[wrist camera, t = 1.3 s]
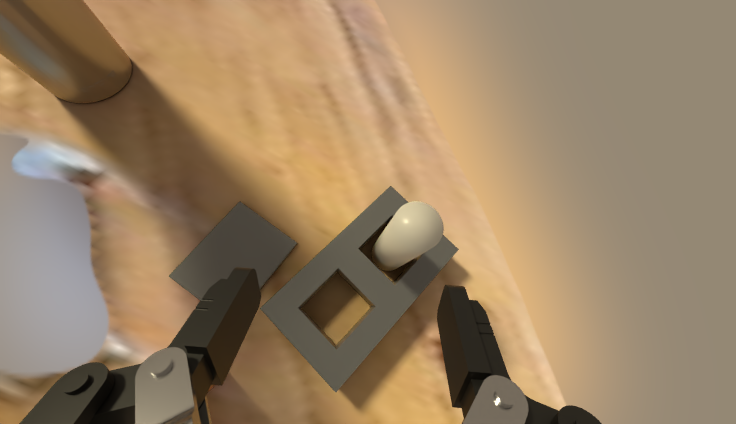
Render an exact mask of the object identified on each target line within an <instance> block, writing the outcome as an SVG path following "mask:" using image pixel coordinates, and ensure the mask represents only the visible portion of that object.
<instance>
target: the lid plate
mask: <svg viewBox="0 0 736 424" xmlns="http://www.w3.org/2000/svg"><path fill="white" fill-rule="evenodd" d="M296 245H297V242H295V241H294V240H292V239H291V238H290V237H288V236H287V235H286V234H284V233H283V232H281V231H280V230H279V229H277V228H276V227H275V226H273V225H272V224H270V223H269V222H268V221H266V220H265V219H263V218H262V217H261V216H259V215H258V214H257V213H255V212H254V211H252V210H251V209H250V208H248V207H247V206H245V205H244V204H243V203H241V202H239V203H238V204H237V205H236V206H235V207H234V208H233V209H232V210H231V211H230V212H229V213H228V214H227V215H226V216H225V217H224V218H223V219H222V221H221V222H220V223H219V224H218V225H217V226H216V227H215V228H214V229H213V230H212V231H211V232H210V233H209V234H208V235H207V236H206V237H205V238H204V239H203V241H202V242H201V243H200V244H199V245H198V246H197V247H196V248H195V249H194V250H193V251H192V252H191V253H190V254H189V255H188V256H187V257H186V258H185V259H184V261H183V262H182V263H181V264H180V265H179V266H178V267H177V268H176V269H175V270H174V271H173V272H172V273H171V274H170V275H169V277H170V278H172V279H173V280H174V281H176V282H177V283H178V284H180V285H181V286H182V287H183V288H185V289H186V290H187V291H189V292H190V293H191V294H192V295H194V296H195V297H196V298H198V299H199V300H200V301H202V298H203V296H204V295H205V294H206V292H207V291H208V289H209V288H210V287H211V286H212V285H214V284H215V283H216V282H217V281H219V280H220V279H227V278H228V277H229V275H230V274H231V272H232V271H233V269H234V268H236V267H241V268H253V269H255V270H256V273H257V278H258V283H259V287H260V289H261V288H262V287H263V286H264V285H265V283H266V282H267V281H268V280H269V278H270V277H271V276H272V275H273V273H274V272H275V271H276V270H277V268H278V267H279V266H280V265H281V263H282V262H283V261H284V260H285V258H286V257H287V256H288V255H289V253H290V252H291V251H292V250H293V249H294V247H295V246H296Z"/></svg>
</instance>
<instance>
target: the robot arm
mask: <svg viewBox="0 0 736 424" xmlns="http://www.w3.org/2000/svg"><path fill="white" fill-rule="evenodd" d="M0 54H2V55H3V56H4V57H6V58H7V59H8V60H10V61H11V62H12V63H13V64H15V65H16V66H17V67H18V68H20V69H21V70H22V71H24V72H25V73H26V74H28V75H29V76H30V77H31V78H33V79H34V80H35V81H37V82H38V83H39V84H41V85H42V86H43V87H45V88H46V89H47V90H48V91H50V92H51V93H52V94H54V95H55V96H57V97H58V98H60V99H63V100H65V101H68V102H73V103H91V102H96V101H100V100H104V99H106V98H108V97H110V96H112V95H114V94H115V93H117V92H118V91H120V90H121V89H122V88H123V87H124V86H125V85H126V83H127V82H128V80H129V79H130V76H131V73H132V65H131V61H130V59H129V57H128V55H127V54H126V53H125V52H124V50H123V49H122V48H121V47H120V46H119V44H118V43H117V42H116V41H115V39H114V38H113V37H112V36H111V34H110V33H109V32H108V31H107V29H106V28H105V27H104V26H103V24H102V23H101V22H100V21H99V19H98V18H97V17H96V16H95V14H94V13H93V12H92V11H91V9H90V8H89V7H88V6H87V5H86V3H85V2H84V1H83V0H0ZM260 299H261V292H260V287H259V283H258V278H257V273H256V270H255V269H253V268H241V267H236V268H234V269H233V271H232V272H231V274H230V275H229V277H228V278H227V279H220V280H219V281H217V282H216V283H215V284H214V285H212V286H211V287H210V288H209V289H208V291H207V292H206V294H205V295H204V296H203V298H202V301H200V302H199V304H198V305H197V307H196V309H195V310H194V311H193V312H192V314H191V315H190V317H189V318H188V319H187V321H186V322H185V324H184V325H183V327H182V328H181V330H180V331H179V332H178V334H177V335H176V337H175V338H174V340H173V341H172V342H171V344H170V345H169V346H168V347H167V348H165V349H162V350H160V351H158V352H156V353H154V354H152V355H151V356H150V357H148V358H147V359H146V360H145V361H144V362H143V363H142V364H138V365H134V366H129V367H125V368H120V369H116V370H111V371H109V370H108V368H107V367H106V366H105V365H104V364H102V363H97V362H95V363H88V364H85V365H82V366H79V367H77V368H75V369H73V370H71V371H70V372H68V373H67V374H65V375H64V376H63V377H61V378H60V379H59V380H58V381H57V382H56V383H55V384H54V385H53V386H52V387H51V389H50V390H49V391H48V392H47V393H46V394H45V395H44V396H43V398H42V399H41V400H40V401H39V402H38V403H37V404H36V406H35V407H34V408H33V409H32V410H31V411H30V412H29V413H28V415H27V416H26V417H25V418H24V419H23V420H22V421H21V423H20V424H212V422H211V417H210V412H209V407H208V401H207V397H206V394H207V392H208V390H209V388H210V386H211V385H223V383H224V380H225V378H226V376H227V374H228V372H229V370H230V368H231V365H232V363H233V361H234V359H235V357H236V355H237V353H238V350H239V348H240V346H241V344H242V342H243V340H244V338H245V335H246V333H247V331H248V329H249V327H250V325H251V322H252V320H253V318H254V316H255V314H256V312H257V310H258V307H259V304H260ZM437 321H438V328H439V334H440V339H441V345H442V351H443V356H444V362H445V368H446V373H447V379H448V385H449V390H450V396H451V402H452V407H456V408H462V411H463V416H464V420H463V422H462V424H601V423H600V422H599V420H597V419H596V418H595V417H594V416H593V415H592V414H590V413H589V412H587V411H586V410H584V409H582V408H579V407H576V406H565V407H563V408H562V409H560V411H558V410H556V409H553V408H551V407H548V406H546V405H544V404H541V403H539V402H536V401H534V400H532V399H530V398H529V397H527V396H526V395H524V393H523V392H522V390H521V389H520V388H519V387H518V386H517V385H516V384H515V383H514V382H512V381H511V379H510V377H509V375H508V372H507V370H506V367H505V364H504V361H503V358H502V356H501V353H500V350H499V347H498V344H497V342H496V339H495V336H494V335H493V334H494V333H493V330H492V328H491V326H490V322H489V319H488V316H487V314H486V311H485V310H484V309H483V307H482V306H481V305H480V304H479V303H478V301H475V300H469V298H468V295H467V292H466V289H465V287H464V286H452V285H445V287H444V290H443V293H442V297H441V300H440V304H439V307H438V313H437Z"/></svg>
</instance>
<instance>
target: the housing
mask: <svg viewBox="0 0 736 424" xmlns="http://www.w3.org/2000/svg"><path fill="white" fill-rule="evenodd" d="M386 223H388V225H387V227H386V228H385V229H384V231H383V232H382V234H381V235H380V237H379V238H378V239H377V241H376V242H375V244H374V245H373V247H372V251H371V255H372V259H373V262H374V263H375V265H376V266H377V267H379V268H380V269H382V270H386V271H392V270H395V269H397V268H399V267H400V266H402V265H404V264H406V263H407V262H409V261H411V260H412V259H414V258H415V259H414V261H413V262H412V263H411V264H410V265H409V266H408V267H407V268H406V269H405V270H404V272H403V273H402V274H401V275H400V276H399V277H398V278H397V279H396V280H395V281H394V283H392V282H391V281H390V280H389V279H388V278H387V277H386V276H385V275H384V274H383V273H382V272H381V271H380V270H379V269H378V268H377V267H376V266H375V265H374V264H373V263H372V262H371V261H370V260H369V259H368V258H367V257H366V256H365V255H364V254H363V253H362V252H361V251H360V249H361V248H362V247H363V246H364V245H365V244H366V243H367V242H368V241H369V240H370V239H371V238H372V237H373V236H374V235H375V234H376V233H377V232H378V231H379V230H380V229H381V228H382V227H383V226H384V225H385V224H386ZM458 250H459V249H458V248H457V247H455V246H454V245H453V244H452V243H451V242H450V241H449V240H448V239H447V238H446V237H445V236H444V235H443V222H442V219H441V217H440V215H439V213H438V212H437V211H436V210H435V209H434V208H433V207H432V206H430V205H429V204H426V203H424V202H419V201H413V202H407V201H406V200H405V199H404V198H403V197H402V196H401V195H400V194H399V193H398V192H397V191H396V190H395V189H394V188H392V187H391V186H390V187H389V188H388V189H387V190H386V191H385V192H384V193H383V194H382V195H380V196H379V197H378V198H377V199H376V200H375V201H374V202H373V203H372V204H371V205H370V206H369V207H368V208H367V209H366V210H364V211H363V212H362V213H361V214H360V215H359V216H358V217H357V218H356V219H355V220H354V221H353V222H352V223H351V224H350V225H348V226H347V227H346V228H345V229H344V230H343V231H342V232H341V233H340V234H339V235H338V236H337V237H336V238H335V239H334V240H332V241H331V242H330V243H329V244H328V245H327V246H326V247H325V248H324V249H323V250H322V251H321V252H320V253H319V254H318V255H316V256H315V257H314V258H313V259H312V260H311V261H310V262H309V263H308V264H307V265H306V266H305V267H304V268H303V269H302V270H300V271H299V272H298V273H297V274H296V275H295V276H294V277H293V278H292V279H291V280H290V281H289V282H288V283H287V284H286V285H285V286H283V287H282V288H281V289H280V290H279V291H278V292H277V293H276V294H275V295H274V296H273V297H272V298H271V299H270V300H269V301H267V302H266V303H265V304H264V305H263V306H262V307H261V308H260V309H261V310H262V311H263V312H264V313H265V314H266V316H267V317H268V318H269V319H270V320H271V321H272V322H273V323H274V324H275V326H276V327H277V328H278V329H279V330H280V331H281V332H282V333H283V334H284V336H285V337H286V338H287V339H288V340H289V341H290V342H291V343H292V344H293V346H294V347H295V348H296V349H297V350H298V351H299V352H300V353H301V354H302V356H303V357H304V358H305V359H306V360H307V361H308V362H309V363H310V364H311V366H312V367H313V368H314V369H315V370H316V371H317V372H318V373H319V375H320V376H321V377H322V378H323V379H324V380H325V381H326V382H327V383H328V385H329V386H330V387H331V388H332V389H333V390H334V391H335V392H337V391H338V390H339V388H340V387H341V386H342V385H343V384H344V383H345V381H346V380H347V379H348V378H349V377H350V376H351V374H352V373H353V372H354V371H355V370H356V369H357V367H358V366H359V365H360V364H361V363H362V362H363V360H364V359H365V358H366V357H367V356H368V355H369V353H370V352H371V351H372V350H373V349H374V348H375V346H376V345H377V344H378V343H379V342H380V341H381V339H382V338H383V337H384V336H385V335H386V334H387V332H388V331H389V330H390V329H391V328H392V327H393V325H394V324H395V323H396V322H397V321H398V320H399V318H400V317H401V316H402V315H403V314H404V313H405V311H406V310H407V309H408V308H409V307H410V306H411V304H412V303H413V302H414V301H415V300H416V299H417V297H418V296H419V295H420V294H421V293H422V292H423V290H424V289H425V288H426V287H427V286H428V285H429V283H430V282H431V281H432V280H433V279H434V278H435V276H436V275H437V274H438V273H439V272H440V271H441V269H442V268H443V267H444V266H445V265H446V264H447V262H448V261H449V260H450V259H451V258H452V257H453V255H454V254H455V253H456V252H457V251H458ZM337 272H338V273H339V274H340V275H341V276H342V277H343V278H344V279H345V280H346V281H347V282H348V283H349V284H350V285H351V286H352V287H353V288H354V289H355V290H356V291H357V292H358V293H359V294H360V295H361V296H362V297H363V298H364V299H365V300H366V301H367V302H368V303H369V305H370V306H371V308H370V309H369V310H368V311H367V312H366V313H365V314H364V315H363V317H362V318H361V319H360V320H359V321H358V322H357V323H356V324H355V325H354V326H353V328H352V329H351V330H350V331H349V332H348V333H347V334H346V335H345V336H344V337H343V339H342V340H341V341H340V342H339V343H338V344H337V345H335V344H334V343H333V342H332V341H331V340H330V339H329V337H328V336H327V335H326V334H325V333H324V332H323V331H322V330H321V329H320V328H319V327H318V326H317V324H316V323H315V322H314V321H313V320H312V319H311V318H310V317H309V316H308V315H307V314H306V313H305V312H304V310H303V309H302V308H301V307H302V306H303V305H304V304H305V303H306V302H307V301H308V300H309V299H310V298H311V297H312V296H313V295H314V294H315V293H316V292H317V291H318V290H319V289H320V288H321V287H322V286H323V285H324V284H325V283H326V282H327V281H328V280H329V279H330V278H331V277H332V276H334V275H335V274H336V273H337Z"/></svg>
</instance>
